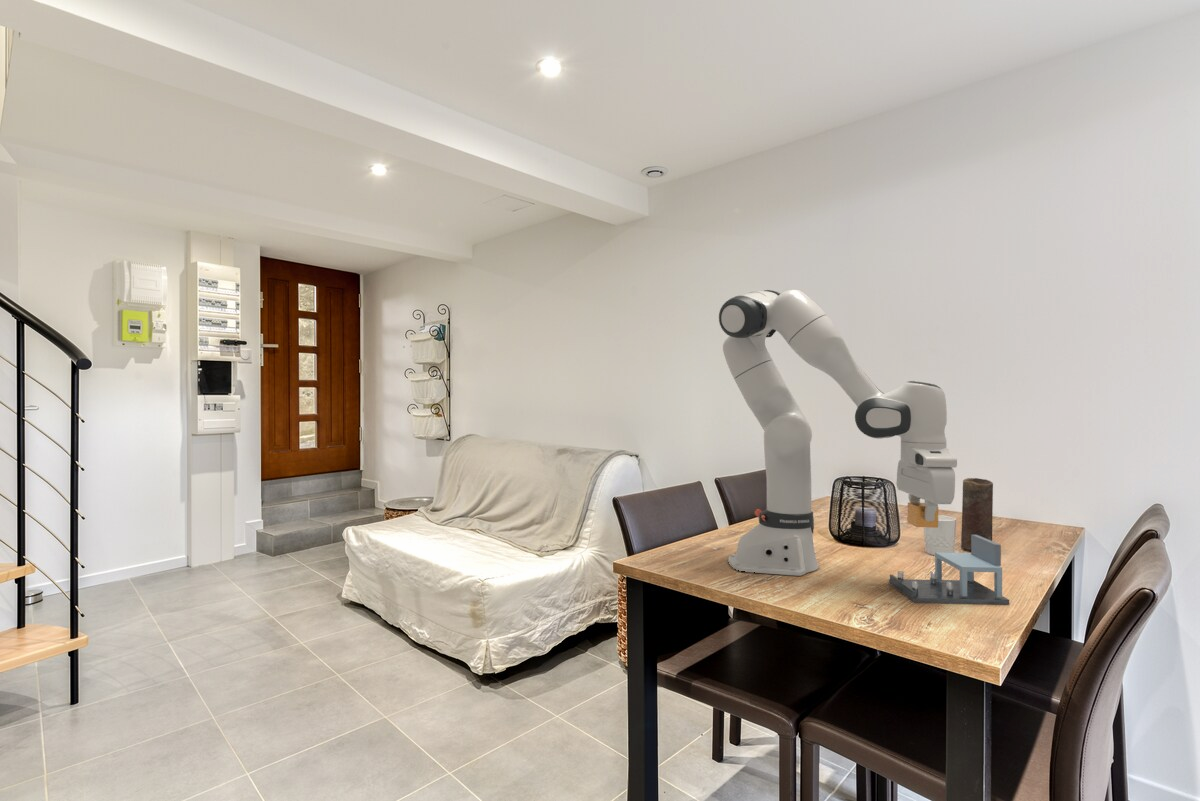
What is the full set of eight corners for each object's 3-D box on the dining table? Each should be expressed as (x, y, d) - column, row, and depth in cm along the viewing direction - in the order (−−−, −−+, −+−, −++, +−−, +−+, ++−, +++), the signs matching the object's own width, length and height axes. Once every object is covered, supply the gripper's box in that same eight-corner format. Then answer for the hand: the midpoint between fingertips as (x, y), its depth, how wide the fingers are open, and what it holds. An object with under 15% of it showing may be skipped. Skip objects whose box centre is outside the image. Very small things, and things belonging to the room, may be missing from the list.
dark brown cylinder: (992, 549, 165) (992, 478, 165) (993, 555, 159) (993, 482, 159) (961, 546, 170) (960, 477, 170) (960, 551, 163) (960, 480, 163)
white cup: (961, 558, 157) (961, 521, 157) (929, 556, 158) (928, 520, 158) (949, 550, 164) (949, 515, 164) (919, 549, 166) (919, 514, 166)
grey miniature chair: (962, 596, 123) (962, 545, 123) (935, 579, 134) (934, 532, 134) (1004, 597, 122) (1004, 546, 122) (973, 580, 134) (973, 533, 134)
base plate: (914, 602, 123) (914, 586, 123) (888, 583, 136) (888, 568, 136) (1009, 604, 121) (1009, 587, 121) (974, 584, 134) (974, 569, 134)
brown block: (938, 527, 126) (938, 506, 126) (916, 526, 127) (916, 506, 127) (928, 523, 131) (928, 503, 131) (907, 522, 131) (907, 502, 131)
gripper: (889, 450, 139) (889, 508, 139) (928, 459, 119) (928, 527, 119) (917, 450, 139) (916, 509, 139) (961, 460, 118) (961, 528, 118)
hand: (922, 517), depth 129 cm, fingers closed on brown block, 4 cm apart
